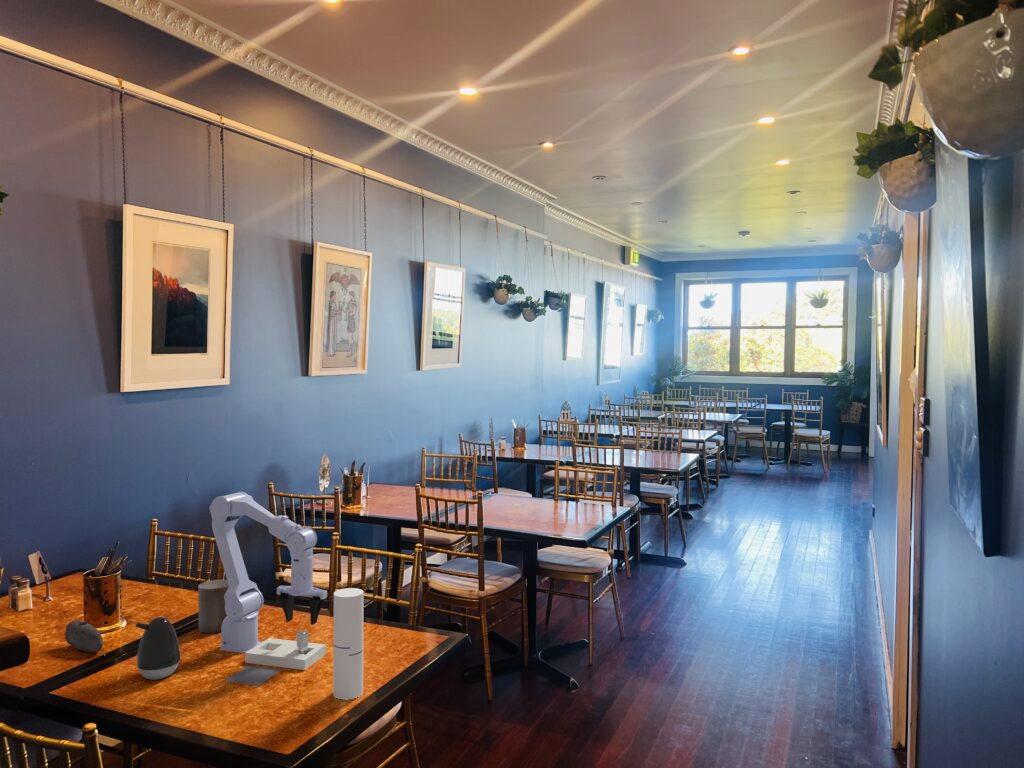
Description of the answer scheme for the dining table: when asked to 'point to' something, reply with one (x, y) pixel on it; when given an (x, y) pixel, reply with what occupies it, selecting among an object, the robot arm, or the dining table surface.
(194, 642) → the dining table surface
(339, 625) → the cylindrical container
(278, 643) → the hole block
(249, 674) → the mat
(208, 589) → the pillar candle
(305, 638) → the peg
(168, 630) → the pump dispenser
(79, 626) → the grey river pebble
